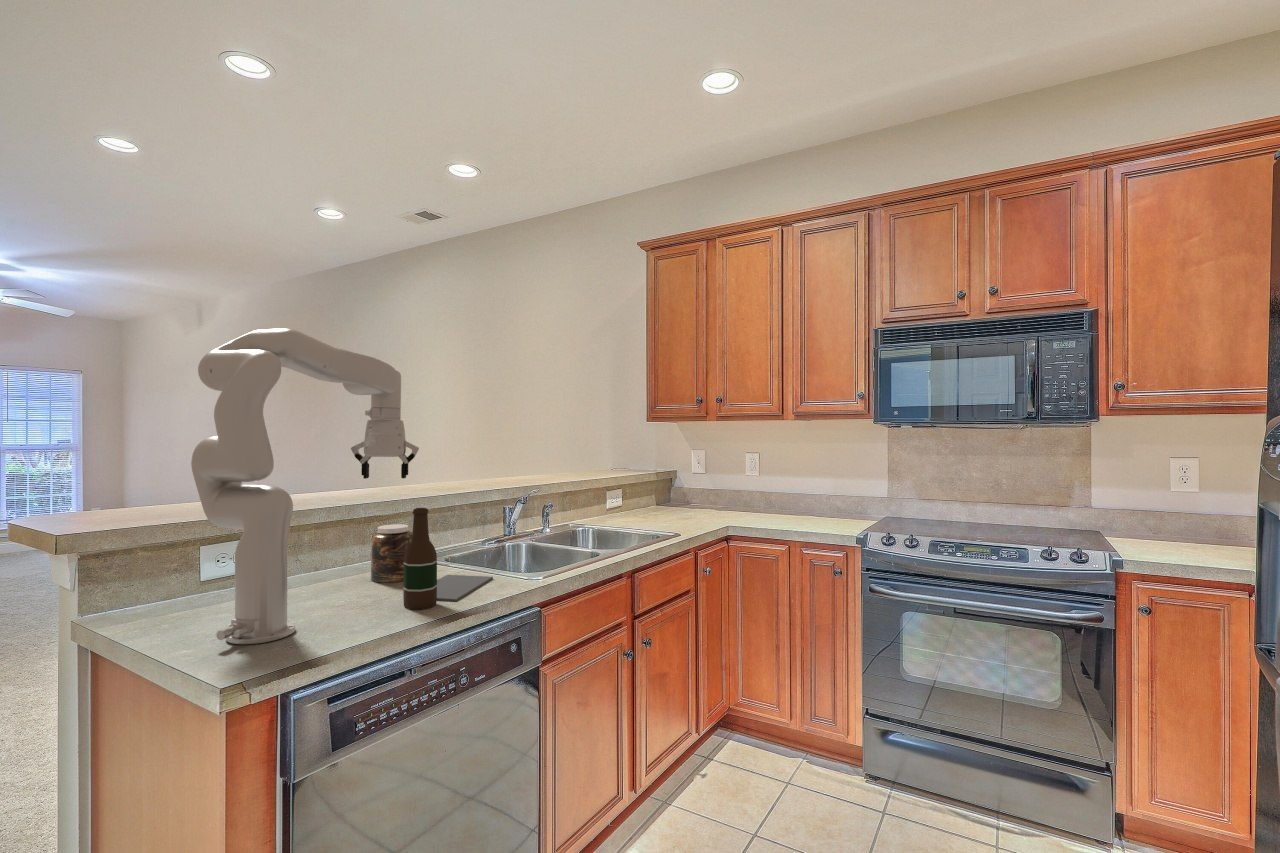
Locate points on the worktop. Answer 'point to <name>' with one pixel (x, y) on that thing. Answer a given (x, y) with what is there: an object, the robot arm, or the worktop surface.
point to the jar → (389, 553)
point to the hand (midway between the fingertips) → (385, 478)
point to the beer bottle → (420, 566)
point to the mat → (458, 586)
